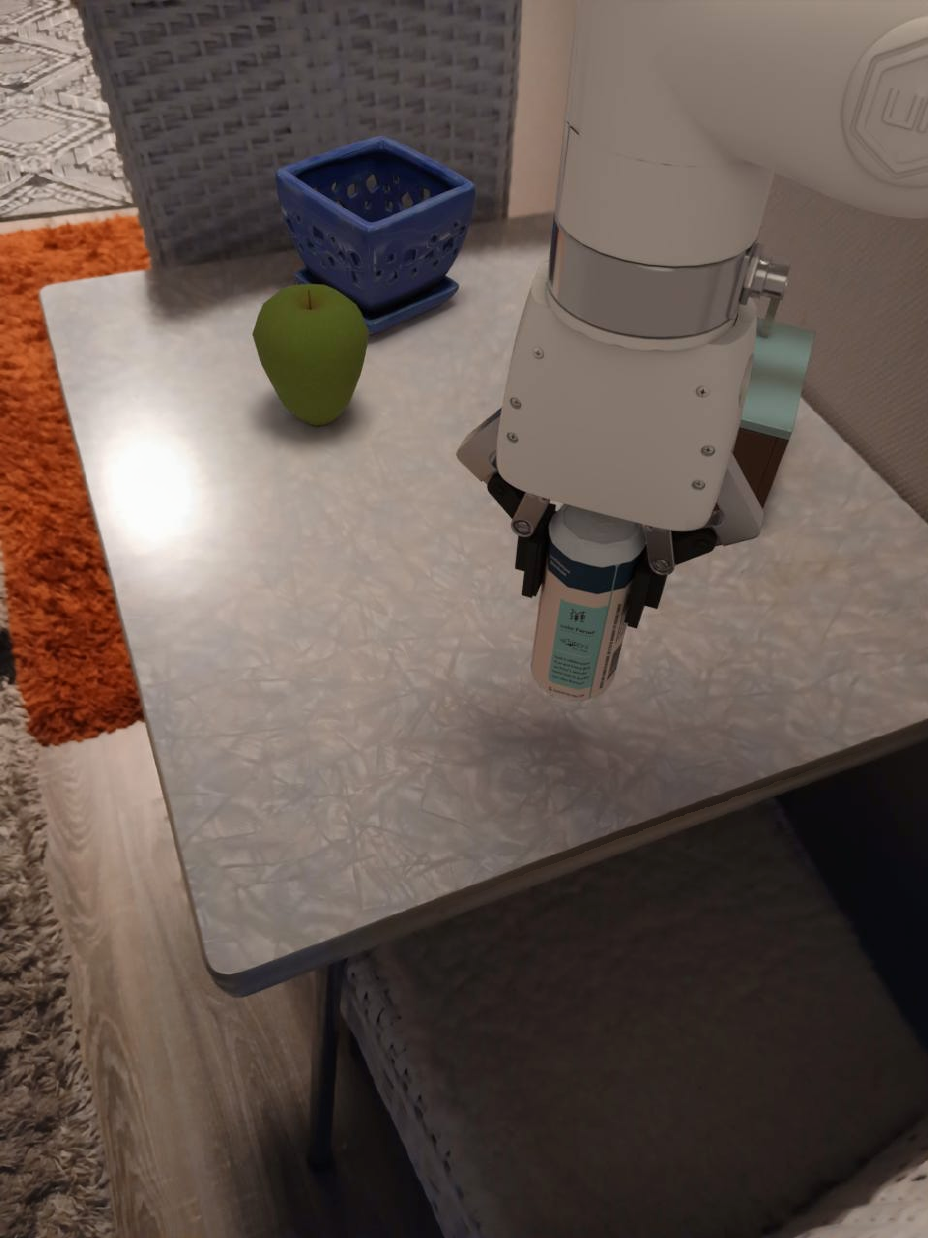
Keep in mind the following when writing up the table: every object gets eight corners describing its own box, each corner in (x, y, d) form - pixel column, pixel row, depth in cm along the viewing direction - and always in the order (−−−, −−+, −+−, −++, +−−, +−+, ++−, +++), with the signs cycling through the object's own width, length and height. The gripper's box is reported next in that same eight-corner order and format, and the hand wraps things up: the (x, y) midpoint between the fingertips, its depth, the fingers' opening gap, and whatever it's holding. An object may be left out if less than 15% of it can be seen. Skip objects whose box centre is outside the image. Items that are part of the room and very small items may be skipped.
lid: (660, 303, 81) (675, 238, 77) (812, 339, 78) (836, 274, 74) (617, 396, 71) (631, 328, 67) (788, 440, 69) (814, 373, 65)
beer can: (593, 635, 58) (625, 477, 49) (626, 696, 55) (667, 539, 46) (517, 652, 57) (536, 494, 48) (547, 715, 54) (573, 559, 45)
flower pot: (475, 305, 94) (484, 181, 85) (370, 355, 87) (368, 226, 78) (383, 251, 99) (382, 130, 91) (278, 294, 93) (267, 168, 84)
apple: (243, 427, 79) (225, 298, 71) (302, 376, 84) (292, 250, 76) (334, 463, 77) (326, 334, 68) (389, 408, 82) (388, 282, 73)
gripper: (881, 266, 38) (759, 590, 51) (472, 184, 42) (459, 508, 55) (865, 366, 33) (735, 695, 47) (404, 264, 37) (407, 597, 50)
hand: (586, 591), depth 51 cm, fingers closed on beer can, 4 cm apart
